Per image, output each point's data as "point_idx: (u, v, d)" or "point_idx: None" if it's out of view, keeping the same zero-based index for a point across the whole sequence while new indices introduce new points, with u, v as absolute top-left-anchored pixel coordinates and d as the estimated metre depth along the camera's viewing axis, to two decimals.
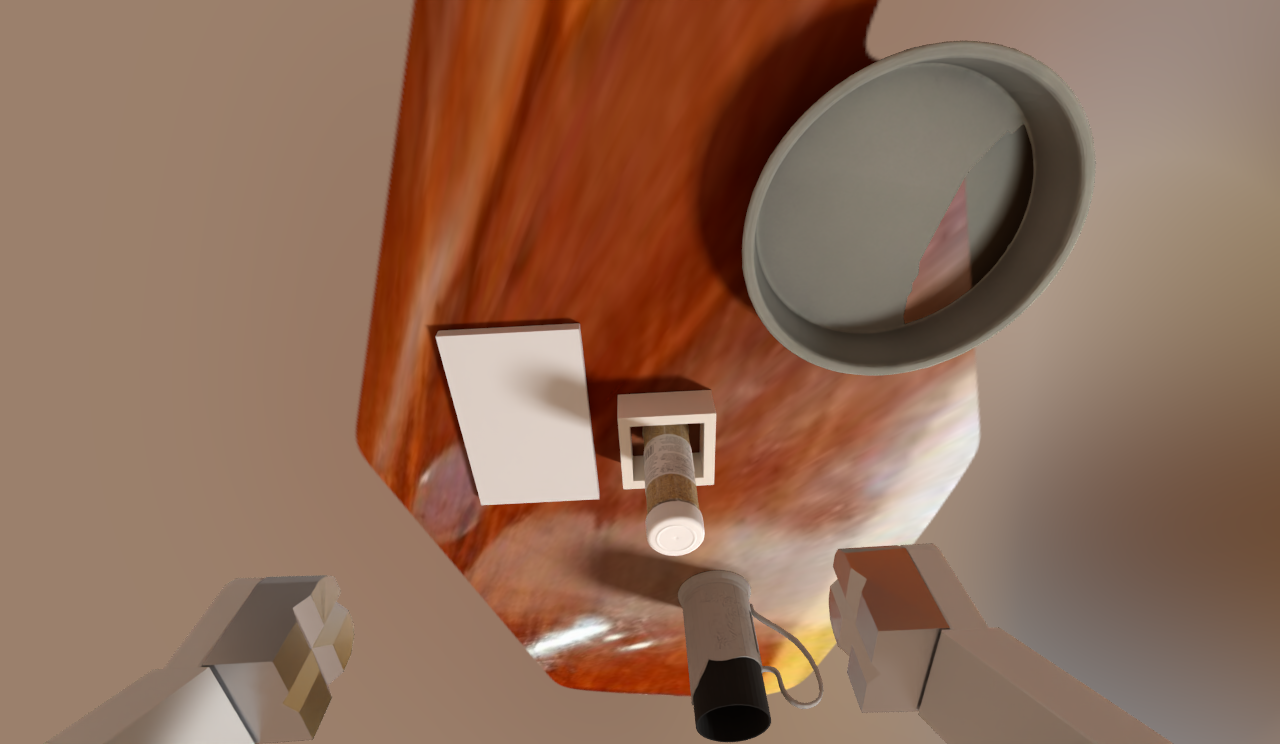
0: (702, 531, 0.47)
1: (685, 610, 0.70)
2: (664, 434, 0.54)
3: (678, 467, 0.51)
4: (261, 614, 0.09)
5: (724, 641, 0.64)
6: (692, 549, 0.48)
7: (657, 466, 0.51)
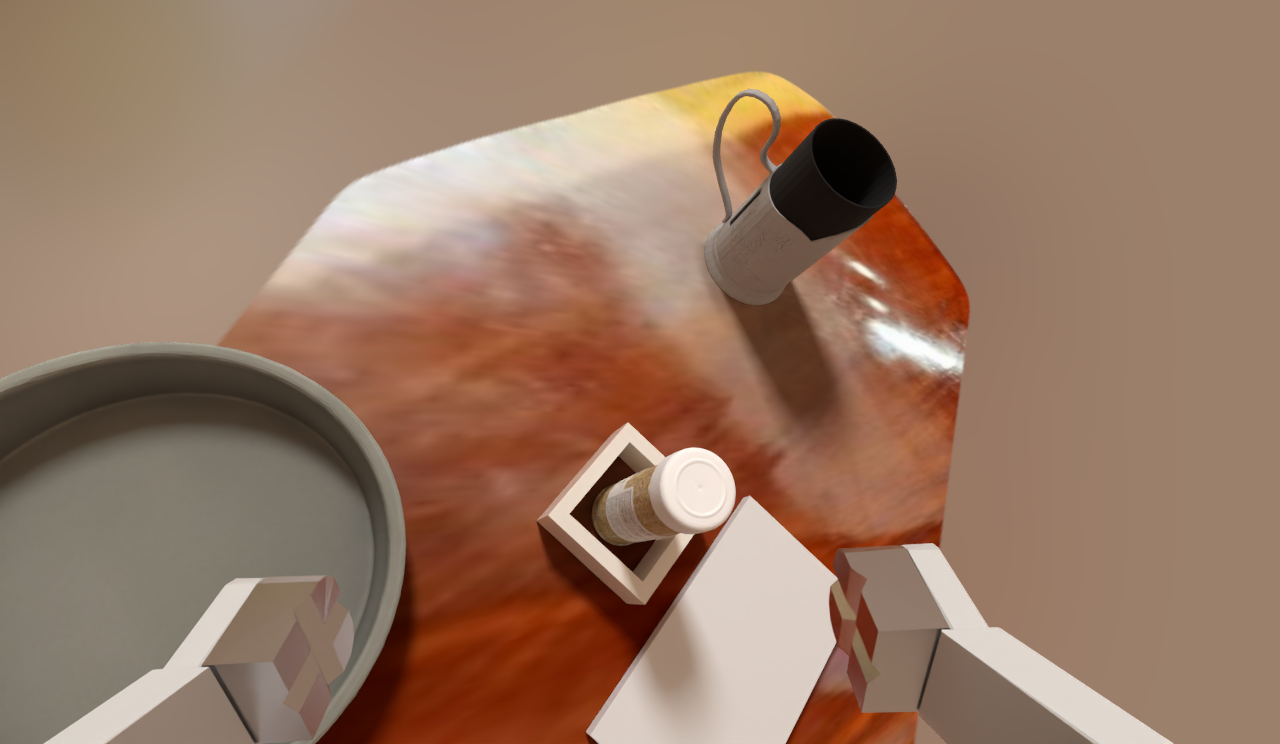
0: (666, 469, 0.32)
1: (786, 283, 0.54)
2: (619, 536, 0.40)
3: (631, 519, 0.37)
4: (261, 614, 0.09)
5: (778, 238, 0.47)
6: (697, 452, 0.33)
7: (651, 537, 0.37)
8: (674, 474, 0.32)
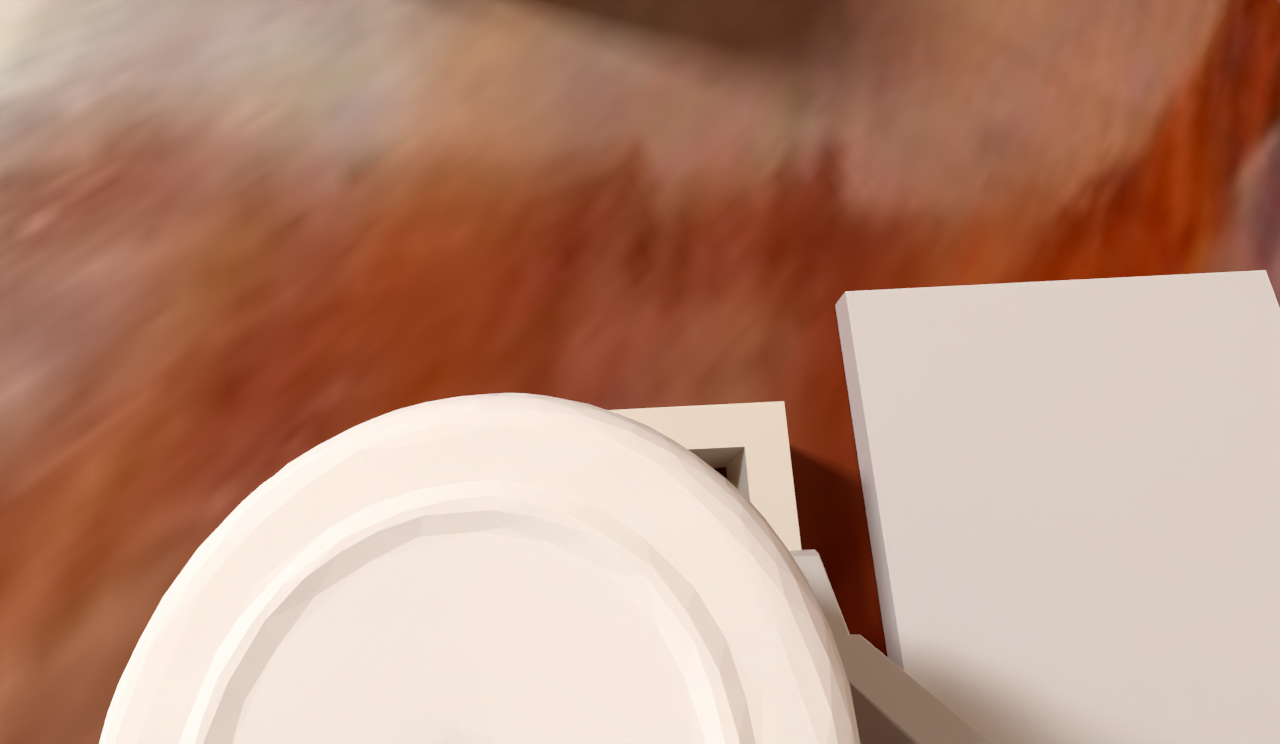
0: None
1: None
2: None
3: None
4: None
5: None
6: (263, 522, 0.04)
7: None
8: None
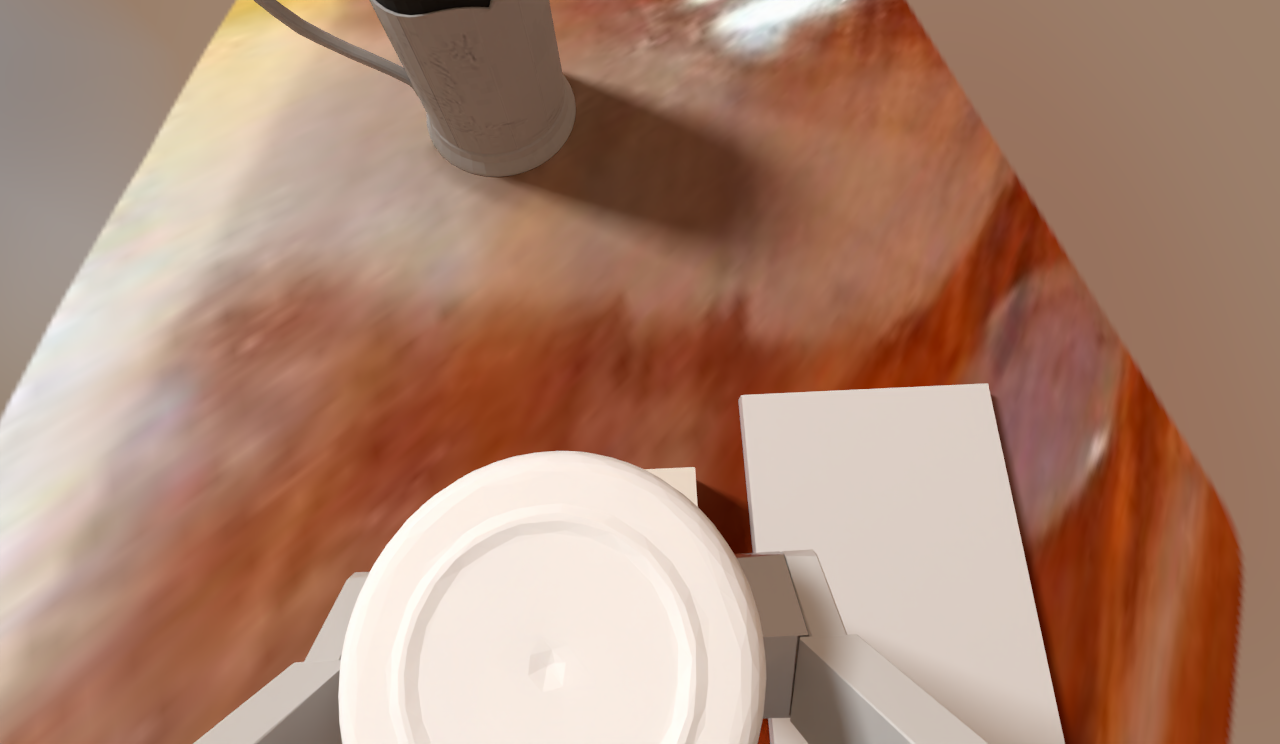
0: (345, 732, 0.06)
1: (557, 90, 0.33)
2: None
3: None
4: None
5: (455, 50, 0.27)
6: (428, 528, 0.07)
7: None
8: (389, 729, 0.06)
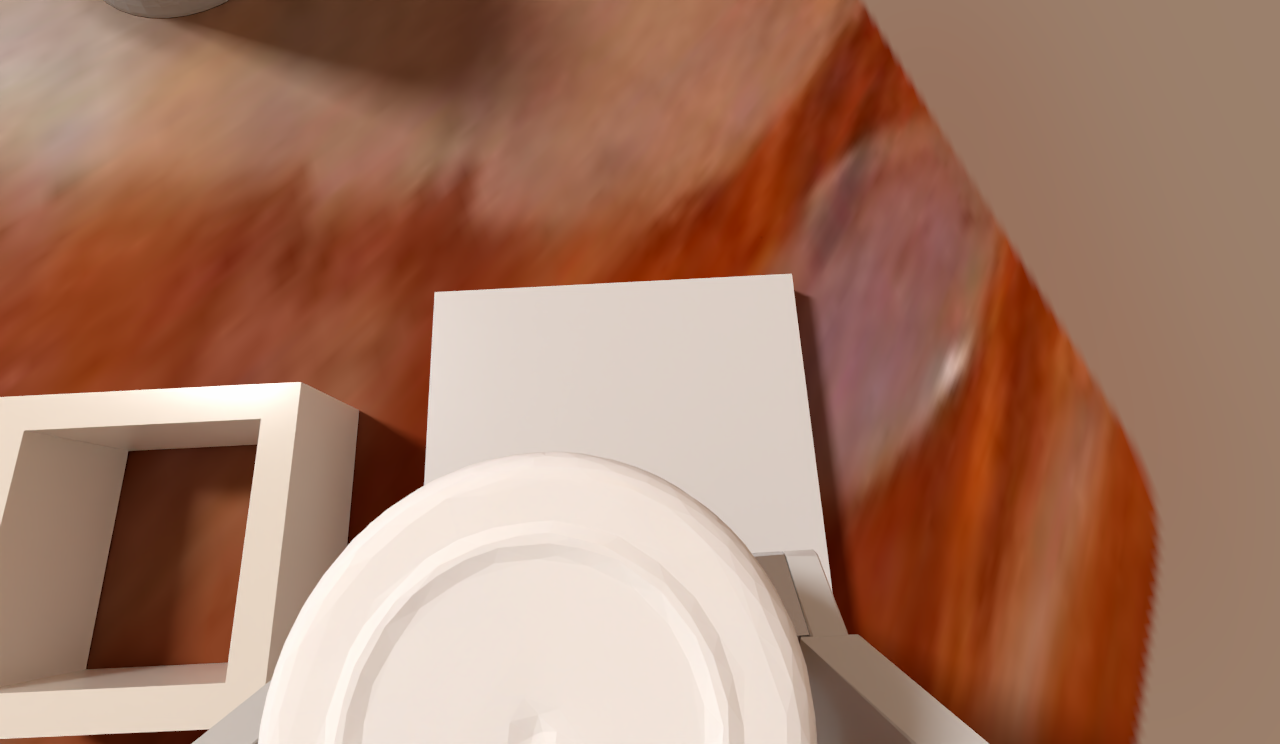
0: None
1: None
2: None
3: None
4: None
5: None
6: (378, 553, 0.05)
7: None
8: None
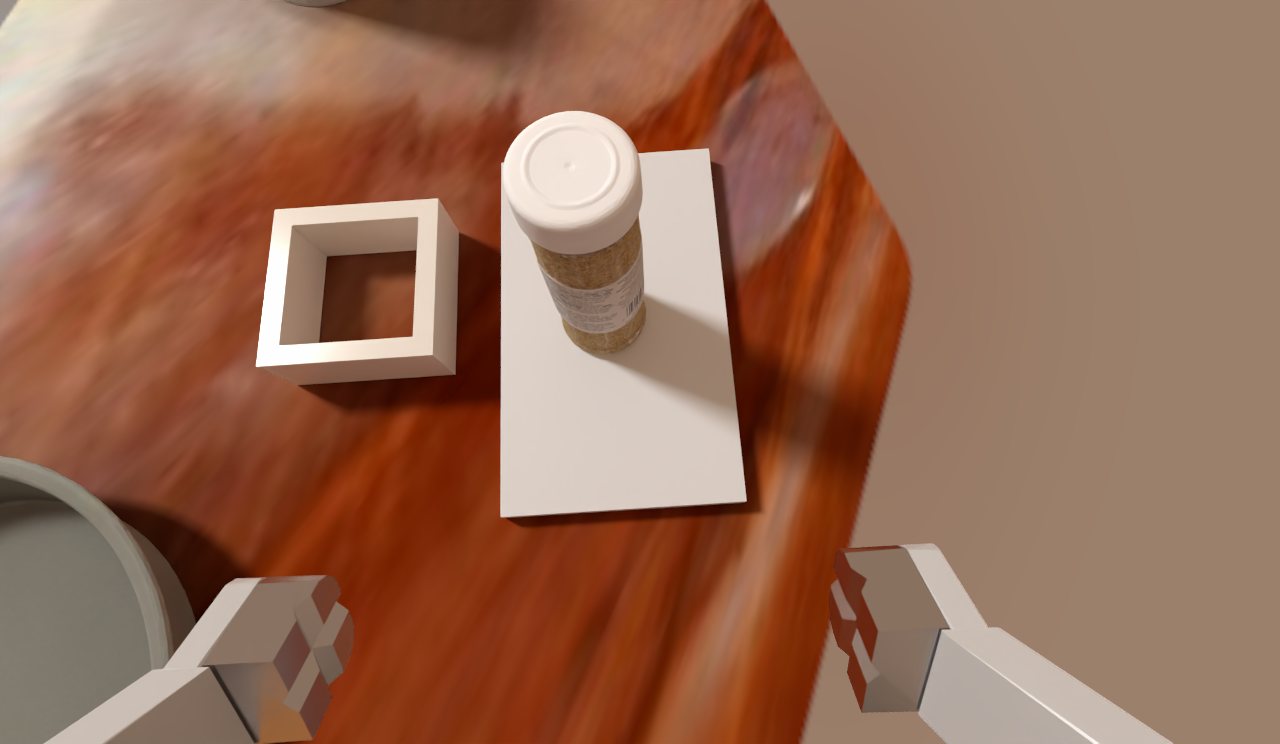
0: (507, 186, 0.20)
1: None
2: (606, 332, 0.29)
3: (574, 296, 0.25)
4: (261, 614, 0.09)
5: None
6: (529, 131, 0.20)
7: (617, 294, 0.25)
8: (521, 182, 0.19)
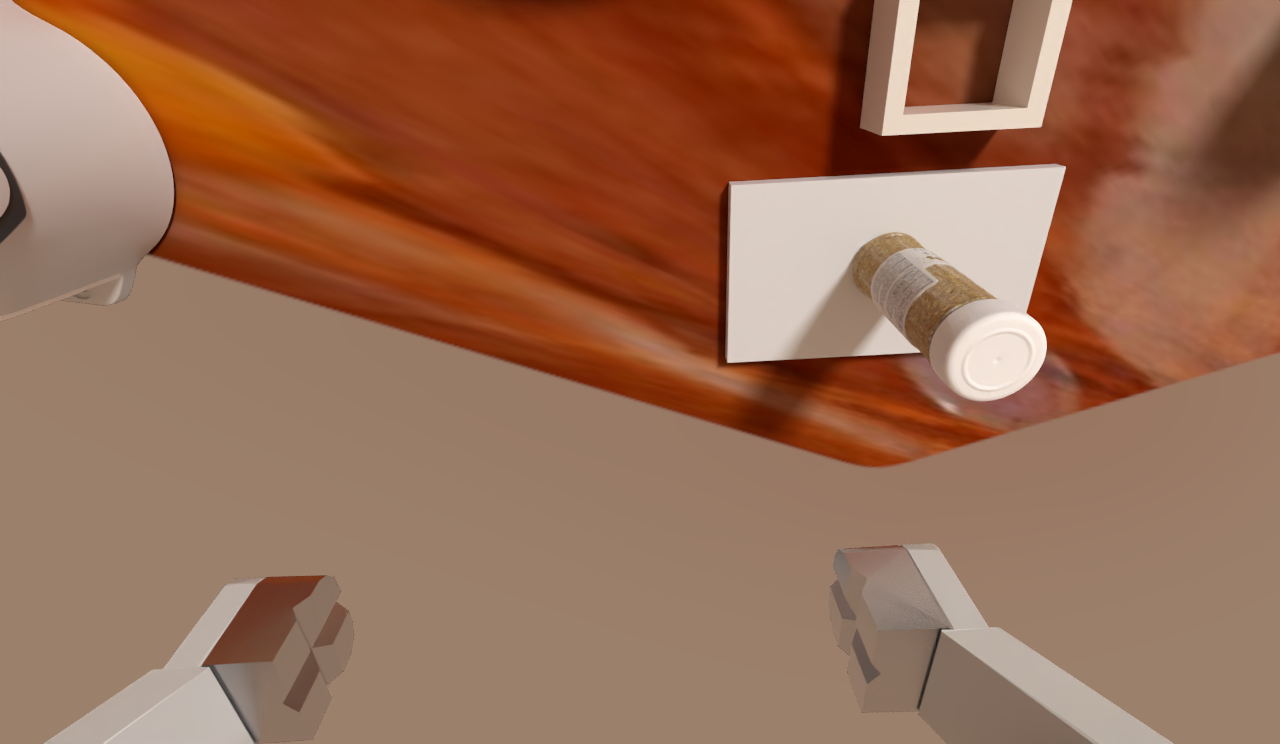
0: (994, 318, 0.26)
1: None
2: (870, 289, 0.36)
3: (902, 300, 0.32)
4: (261, 614, 0.09)
5: None
6: (1036, 332, 0.27)
7: (898, 328, 0.33)
8: (994, 329, 0.27)
